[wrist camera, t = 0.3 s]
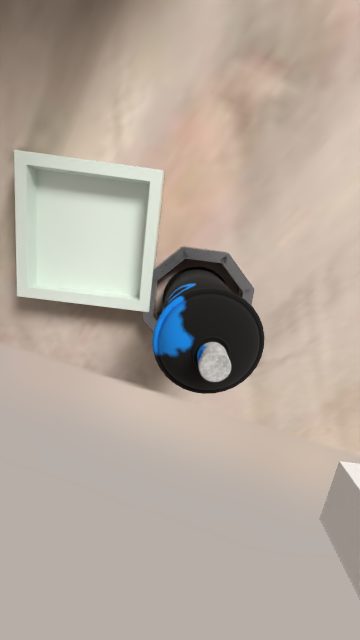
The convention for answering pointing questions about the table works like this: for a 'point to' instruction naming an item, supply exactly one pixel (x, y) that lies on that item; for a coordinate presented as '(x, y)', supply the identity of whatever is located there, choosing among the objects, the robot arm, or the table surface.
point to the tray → (86, 230)
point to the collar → (203, 255)
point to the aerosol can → (206, 333)
